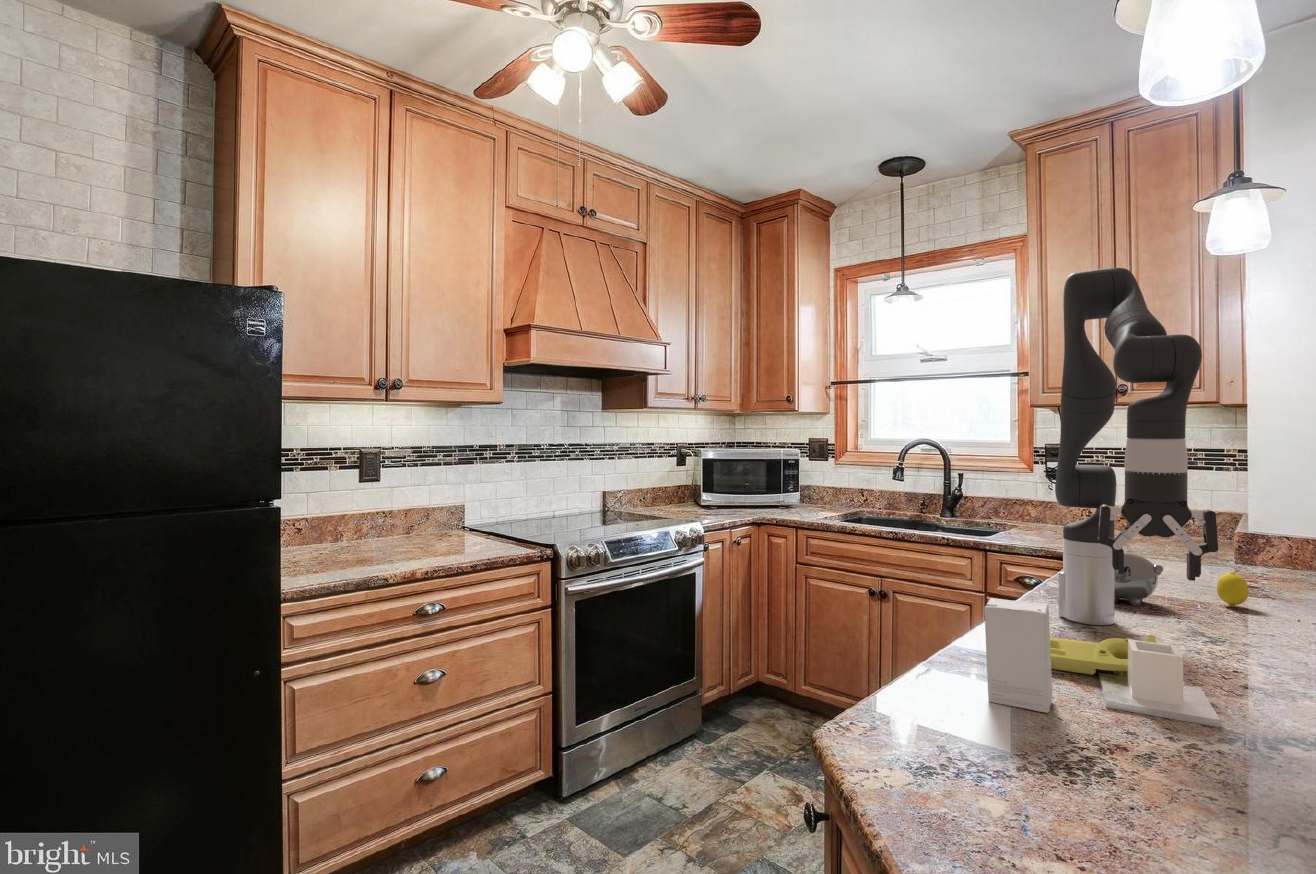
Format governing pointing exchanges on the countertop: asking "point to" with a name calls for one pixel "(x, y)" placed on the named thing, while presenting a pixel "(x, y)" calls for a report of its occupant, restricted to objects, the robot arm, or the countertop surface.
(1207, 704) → the duct stub
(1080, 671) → the plastic component
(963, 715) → the countertop surface
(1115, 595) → the piggy bank
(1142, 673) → the square tube sleeve
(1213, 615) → the countertop surface
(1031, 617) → the skincare box
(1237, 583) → the lemon
